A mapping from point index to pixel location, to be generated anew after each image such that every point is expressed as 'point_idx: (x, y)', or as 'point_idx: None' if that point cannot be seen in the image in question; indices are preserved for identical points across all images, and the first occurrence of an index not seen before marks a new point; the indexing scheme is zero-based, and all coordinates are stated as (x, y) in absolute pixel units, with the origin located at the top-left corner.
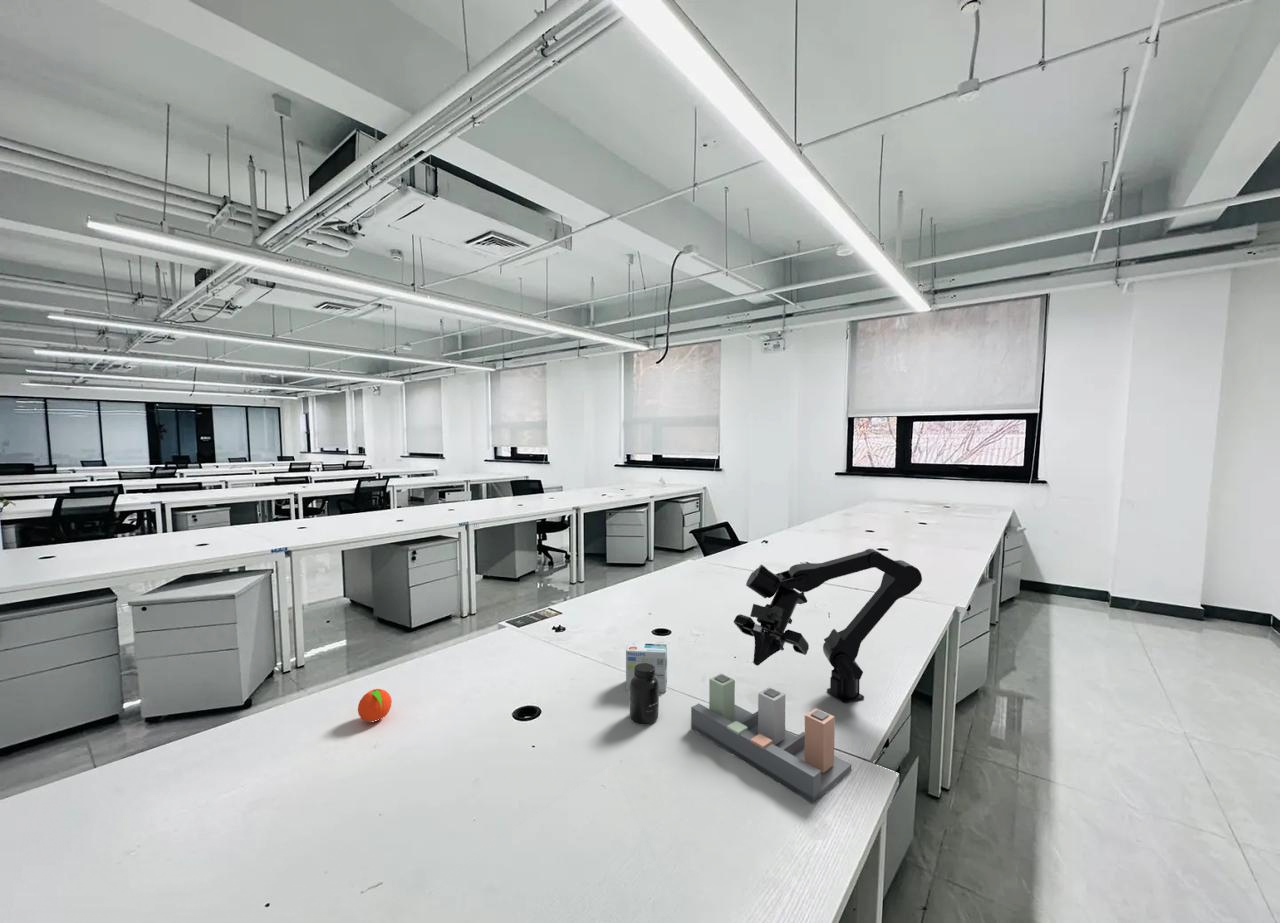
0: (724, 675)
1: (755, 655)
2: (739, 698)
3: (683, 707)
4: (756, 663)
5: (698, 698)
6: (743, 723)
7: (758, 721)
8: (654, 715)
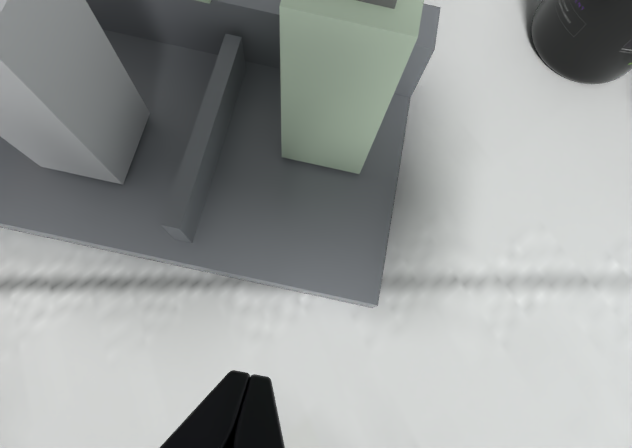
0: (379, 24)
1: (258, 445)
2: (385, 422)
3: (528, 179)
4: (227, 374)
5: (533, 284)
6: (209, 87)
7: (122, 68)
8: (545, 11)
